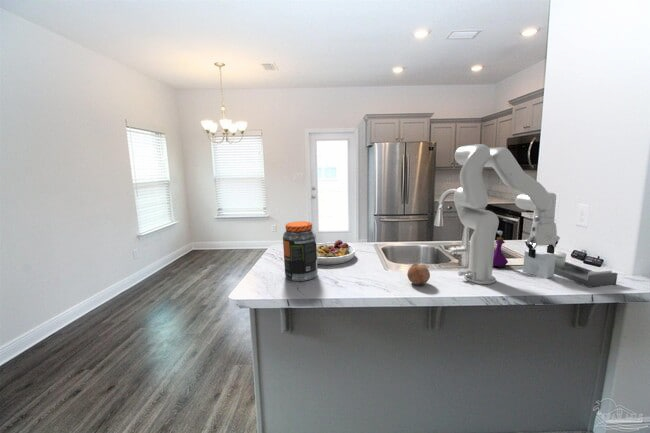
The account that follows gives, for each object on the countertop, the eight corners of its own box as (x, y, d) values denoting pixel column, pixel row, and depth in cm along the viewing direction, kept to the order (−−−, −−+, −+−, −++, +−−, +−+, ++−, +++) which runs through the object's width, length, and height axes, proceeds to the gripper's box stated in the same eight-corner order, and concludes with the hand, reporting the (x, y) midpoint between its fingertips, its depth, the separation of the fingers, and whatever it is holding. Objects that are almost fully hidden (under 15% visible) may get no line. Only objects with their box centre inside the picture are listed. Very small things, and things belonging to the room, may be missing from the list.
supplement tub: (321, 271, 149) (320, 220, 144) (311, 283, 134) (309, 227, 130) (292, 269, 154) (290, 219, 149) (279, 280, 139) (276, 226, 134)
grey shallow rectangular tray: (589, 287, 123) (591, 275, 122) (536, 266, 149) (537, 256, 148) (615, 284, 125) (617, 273, 124) (558, 264, 151) (560, 254, 150)
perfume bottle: (507, 268, 147) (511, 232, 144) (491, 267, 148) (494, 232, 145) (502, 263, 154) (505, 229, 151) (486, 262, 156) (489, 229, 152)
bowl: (340, 270, 151) (340, 255, 150) (292, 261, 166) (291, 248, 164) (363, 254, 176) (363, 241, 175) (320, 248, 191) (319, 236, 190)
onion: (410, 287, 135) (404, 266, 137) (431, 282, 133) (424, 261, 135) (412, 288, 125) (405, 265, 128) (434, 283, 124) (426, 260, 126)
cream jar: (556, 270, 141) (558, 255, 140) (544, 265, 148) (545, 251, 147) (568, 269, 142) (570, 254, 141) (555, 264, 149) (557, 250, 148)
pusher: (589, 283, 125) (590, 272, 124) (586, 282, 126) (588, 271, 125) (610, 281, 126) (611, 270, 125) (607, 280, 127) (609, 269, 126)
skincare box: (554, 275, 136) (556, 253, 134) (546, 278, 133) (549, 256, 131) (529, 269, 145) (531, 248, 143) (522, 271, 142) (524, 250, 140)
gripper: (534, 223, 130) (531, 260, 133) (568, 219, 132) (564, 256, 135) (520, 219, 137) (517, 255, 140) (553, 216, 140) (550, 251, 143)
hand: (541, 255), depth 138 cm, fingers open, 9 cm apart
